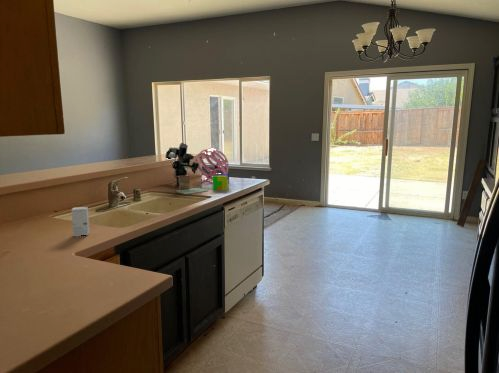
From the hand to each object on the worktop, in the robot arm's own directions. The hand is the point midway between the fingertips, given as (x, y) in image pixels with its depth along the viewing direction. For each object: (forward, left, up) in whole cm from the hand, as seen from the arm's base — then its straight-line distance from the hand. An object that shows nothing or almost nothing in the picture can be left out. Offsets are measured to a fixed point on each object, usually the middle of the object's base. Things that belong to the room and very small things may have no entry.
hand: (189, 172), depth 255 cm
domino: (-5, -2, -12) cm, 13 cm away
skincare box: (+60, -86, -13) cm, 106 cm away
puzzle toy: (+11, +19, -13) cm, 26 cm away
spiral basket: (-20, +32, -13) cm, 40 cm away
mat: (+5, -1, -12) cm, 13 cm away
